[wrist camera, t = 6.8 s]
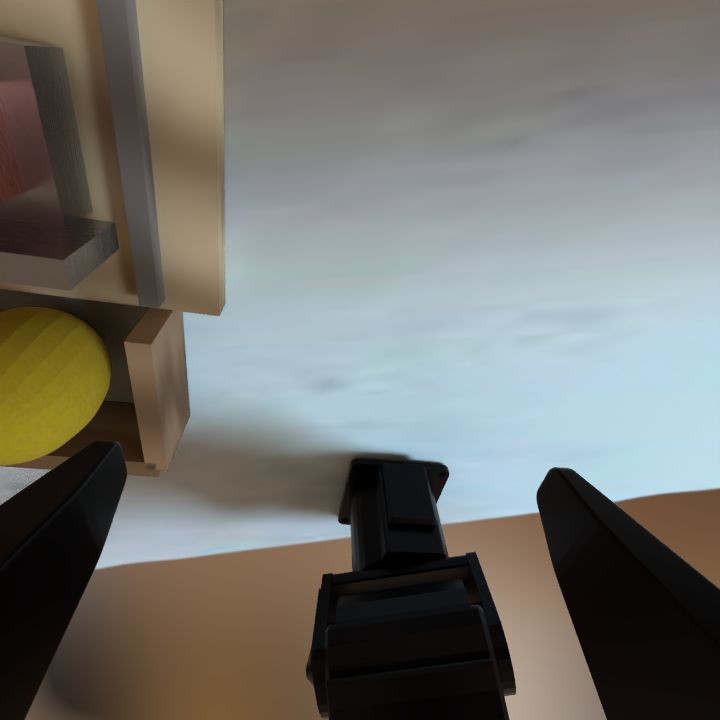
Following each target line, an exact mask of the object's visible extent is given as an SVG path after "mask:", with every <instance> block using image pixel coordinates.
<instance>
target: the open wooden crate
mask: <svg viewBox="0 0 720 720" xmlns="http://www.w3.org/2000/svg"><path fill="white" fill-rule="evenodd" d="M124 346H125V351H126V357H127V363H128V369H129V375H130V380H131V386H132V392H133V398H134V403H135V404H132V403H121V402H110V401H103V402H102V404H101V406H100V408H99V409H98V411H97V412H96V414H95V415H94V417H93V418H92V419H91V421H90V422H89V423H88V424H87V425H86V426H85V427H84V428H83V429H82V430H81V431H80V432H78V433H77V434H76V435H75V436H73V437H72V438H71V439H70V440H68V441H67V442H66V443H65V444H63V445H62V446H61V447H59V448H58V449H56V450H55V451H53V452H51V453H49V454H47V455H44V456H42V457H39V458H37V459H34V460H31V461H29V462H24V463H19V464H12V465H1V466H6V467H20V468H35V469H50V470H52V469H54V468H55V467H57V466H58V465H60V464H61V463H62V462H64V461H65V460H67V459H68V458H70V457H71V456H73V455H74V454H76V453H77V452H78V451H80V450H81V449H83V448H84V447H86V446H87V445H89V444H90V443H92V442H94V441H96V440H108V441H117V442H119V443H120V445H121V447H122V451H123V455H124V459H125V463H126V467H127V475H138V476H153V477H158V475H159V473H160V470H161V471H168V468H169V466H170V463H171V461H172V458H173V456H174V453H175V451H176V449H177V446H178V444H179V441H180V439H181V436H182V434H183V431H184V429H185V426H186V424H187V422H188V419H189V417H190V408H189V395H188V381H187V368H186V354H185V341H184V327H183V314H182V311H175V310H167V309H158V308H149V309H148V310H147V312H146V313H145V314H144V316H143V317H142V318H141V320H140V321H139V322H138V324H137V325H136V326H135V328H134V329H133V330H132V331H131V333H130V334H129V335H128V337H127V338H126V339H125V341H124Z"/></svg>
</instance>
